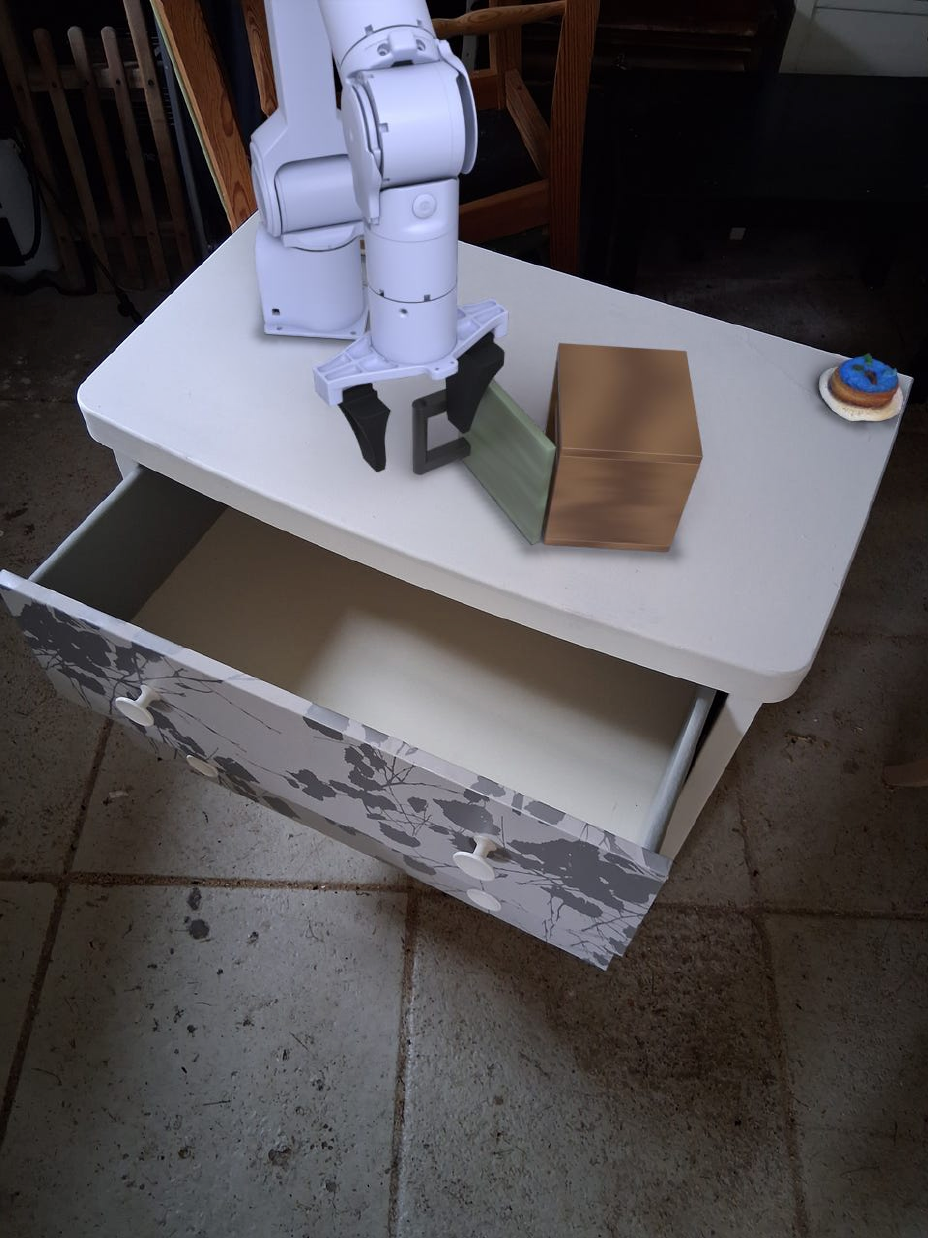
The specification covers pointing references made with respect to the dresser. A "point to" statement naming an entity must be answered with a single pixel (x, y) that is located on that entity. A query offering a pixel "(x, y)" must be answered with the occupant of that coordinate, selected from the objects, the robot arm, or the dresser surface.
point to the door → (493, 454)
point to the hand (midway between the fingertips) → (417, 444)
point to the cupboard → (620, 447)
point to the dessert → (862, 389)
